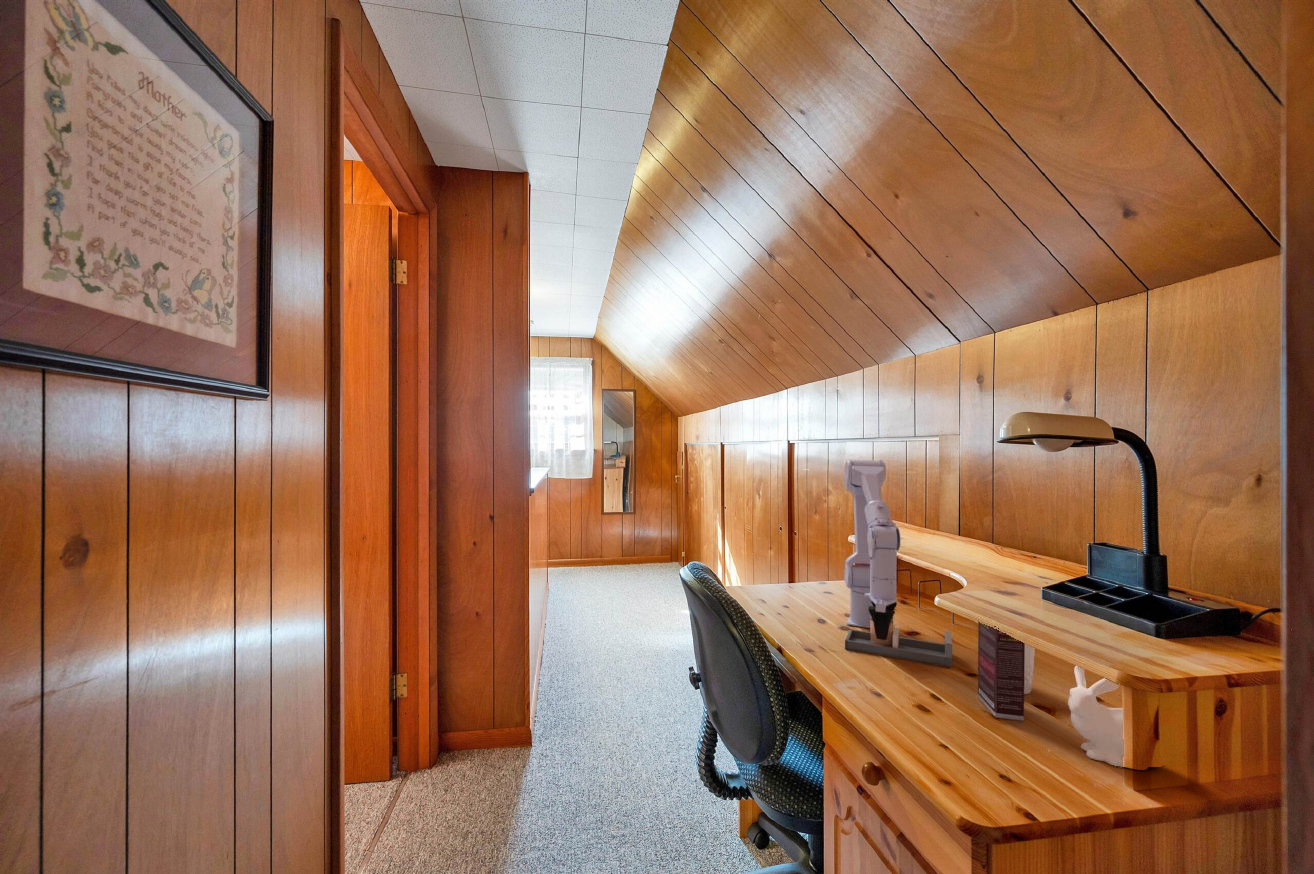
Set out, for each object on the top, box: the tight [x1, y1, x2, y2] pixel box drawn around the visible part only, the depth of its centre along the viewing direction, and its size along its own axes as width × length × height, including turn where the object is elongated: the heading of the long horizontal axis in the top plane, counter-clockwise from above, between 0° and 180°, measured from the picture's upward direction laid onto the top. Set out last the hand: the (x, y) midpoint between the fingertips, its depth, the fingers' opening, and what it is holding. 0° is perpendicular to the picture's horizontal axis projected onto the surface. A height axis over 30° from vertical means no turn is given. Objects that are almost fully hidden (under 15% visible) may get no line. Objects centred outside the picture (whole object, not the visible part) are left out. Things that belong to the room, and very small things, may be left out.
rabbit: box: [1067, 665, 1124, 767], centre depth 83 cm, size 12×9×12 cm
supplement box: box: [977, 621, 1025, 722], centre depth 98 cm, size 9×5×16 cm, turn 168°
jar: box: [869, 615, 894, 647], centre depth 127 cm, size 5×5×7 cm
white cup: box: [1024, 644, 1036, 695], centre depth 107 cm, size 8×8×10 cm
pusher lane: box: [844, 628, 953, 668], centre depth 126 cm, size 9×22×5 cm, turn 63°
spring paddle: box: [893, 625, 900, 648], centre depth 126 cm, size 7×1×4 cm, turn 153°
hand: (882, 635), depth 127 cm, fingers closed on jar, 5 cm apart
